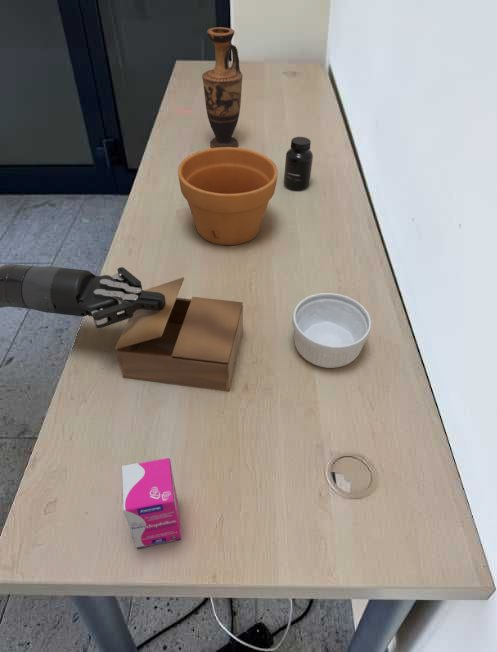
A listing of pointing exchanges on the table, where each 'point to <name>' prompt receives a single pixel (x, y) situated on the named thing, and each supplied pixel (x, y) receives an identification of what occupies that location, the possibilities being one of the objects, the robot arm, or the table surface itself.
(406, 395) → the table surface
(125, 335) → the flap
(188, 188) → the flower pot
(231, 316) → the carton
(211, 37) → the vase
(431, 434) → the table surface
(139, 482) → the supplement box
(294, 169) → the supplement bottle
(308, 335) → the ramekin
